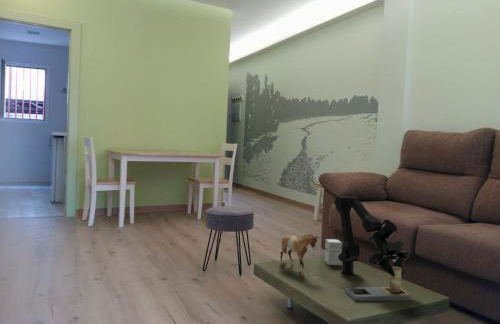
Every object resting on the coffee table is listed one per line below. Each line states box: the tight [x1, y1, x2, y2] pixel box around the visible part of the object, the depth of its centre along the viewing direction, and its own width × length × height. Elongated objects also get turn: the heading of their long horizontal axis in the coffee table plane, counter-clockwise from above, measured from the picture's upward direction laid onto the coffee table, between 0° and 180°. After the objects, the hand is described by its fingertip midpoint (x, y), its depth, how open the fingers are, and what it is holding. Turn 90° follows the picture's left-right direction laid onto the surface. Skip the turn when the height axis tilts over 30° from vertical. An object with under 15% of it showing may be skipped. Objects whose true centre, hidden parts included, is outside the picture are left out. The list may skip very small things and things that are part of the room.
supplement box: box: [324, 238, 343, 266], centre depth 222 cm, size 7×7×13 cm
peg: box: [389, 265, 403, 292], centre depth 175 cm, size 4×4×10 cm
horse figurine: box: [279, 234, 319, 277], centre depth 207 cm, size 31×8×21 cm, turn 25°
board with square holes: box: [344, 286, 412, 302], centre depth 174 cm, size 25×11×2 cm, turn 98°
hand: (398, 275), depth 173 cm, fingers closed on peg, 4 cm apart
